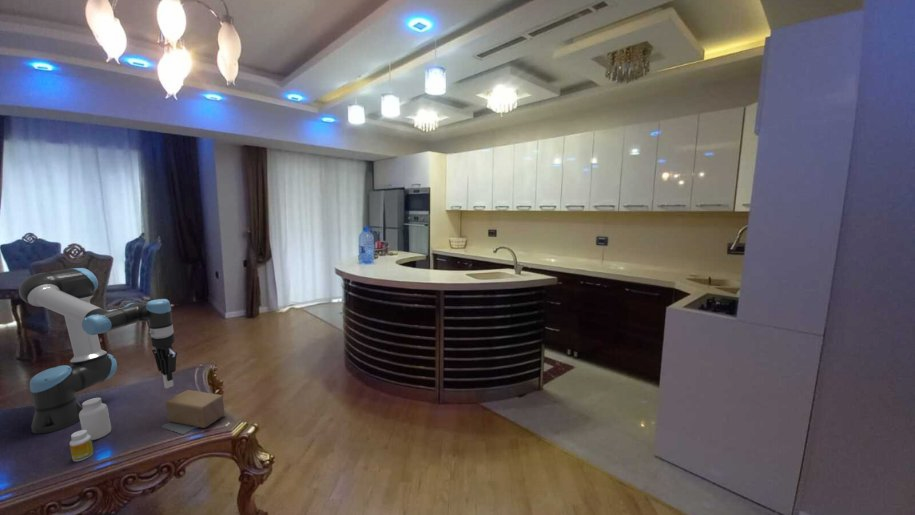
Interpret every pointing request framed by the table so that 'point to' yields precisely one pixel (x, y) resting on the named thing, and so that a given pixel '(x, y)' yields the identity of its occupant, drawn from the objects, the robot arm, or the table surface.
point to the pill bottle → (95, 418)
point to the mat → (178, 427)
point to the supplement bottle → (81, 445)
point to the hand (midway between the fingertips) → (169, 386)
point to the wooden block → (195, 408)
